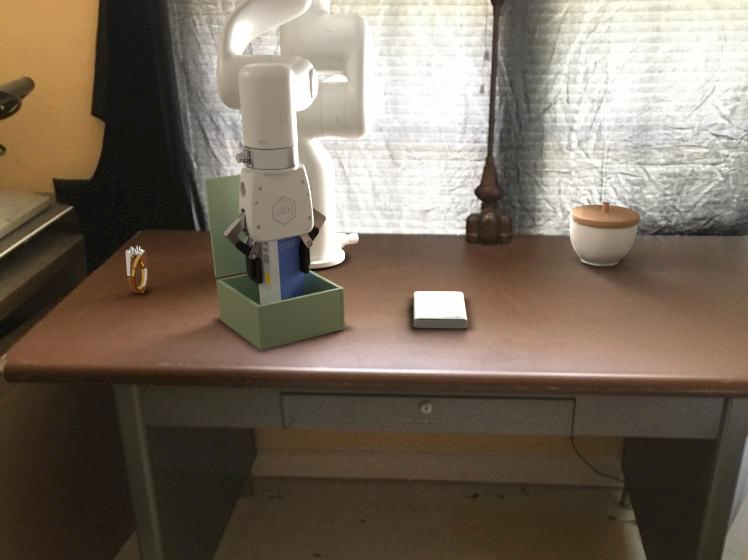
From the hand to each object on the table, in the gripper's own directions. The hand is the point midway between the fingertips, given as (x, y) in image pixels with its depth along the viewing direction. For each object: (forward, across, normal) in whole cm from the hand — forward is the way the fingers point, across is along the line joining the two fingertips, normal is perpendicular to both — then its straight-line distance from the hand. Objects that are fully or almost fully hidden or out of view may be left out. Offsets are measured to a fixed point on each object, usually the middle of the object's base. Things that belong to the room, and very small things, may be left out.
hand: (279, 275), depth 128 cm
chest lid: (-7, 0, +7) cm, 9 cm away
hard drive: (+8, +22, -11) cm, 26 cm away
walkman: (+5, 0, 0) cm, 5 cm away
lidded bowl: (+9, +64, -6) cm, 65 cm away
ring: (+8, -14, +25) cm, 30 cm away
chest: (+8, -1, -1) cm, 8 cm away
